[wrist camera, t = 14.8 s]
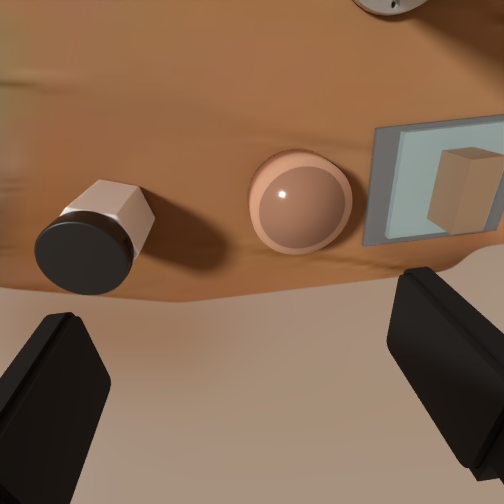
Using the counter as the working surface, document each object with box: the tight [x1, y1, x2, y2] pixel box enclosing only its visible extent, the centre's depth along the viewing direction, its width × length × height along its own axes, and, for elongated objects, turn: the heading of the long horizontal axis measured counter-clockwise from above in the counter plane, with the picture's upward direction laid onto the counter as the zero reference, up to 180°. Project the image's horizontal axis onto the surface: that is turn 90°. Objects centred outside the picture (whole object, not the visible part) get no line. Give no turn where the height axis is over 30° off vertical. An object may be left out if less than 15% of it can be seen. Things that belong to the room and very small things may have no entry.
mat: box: [362, 114, 504, 247], centre depth 40 cm, size 20×16×1 cm
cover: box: [385, 120, 504, 239], centre depth 37 cm, size 14×14×6 cm
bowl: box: [248, 149, 353, 255], centre depth 37 cm, size 12×12×5 cm
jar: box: [34, 179, 155, 295], centre depth 33 cm, size 9×8×12 cm
